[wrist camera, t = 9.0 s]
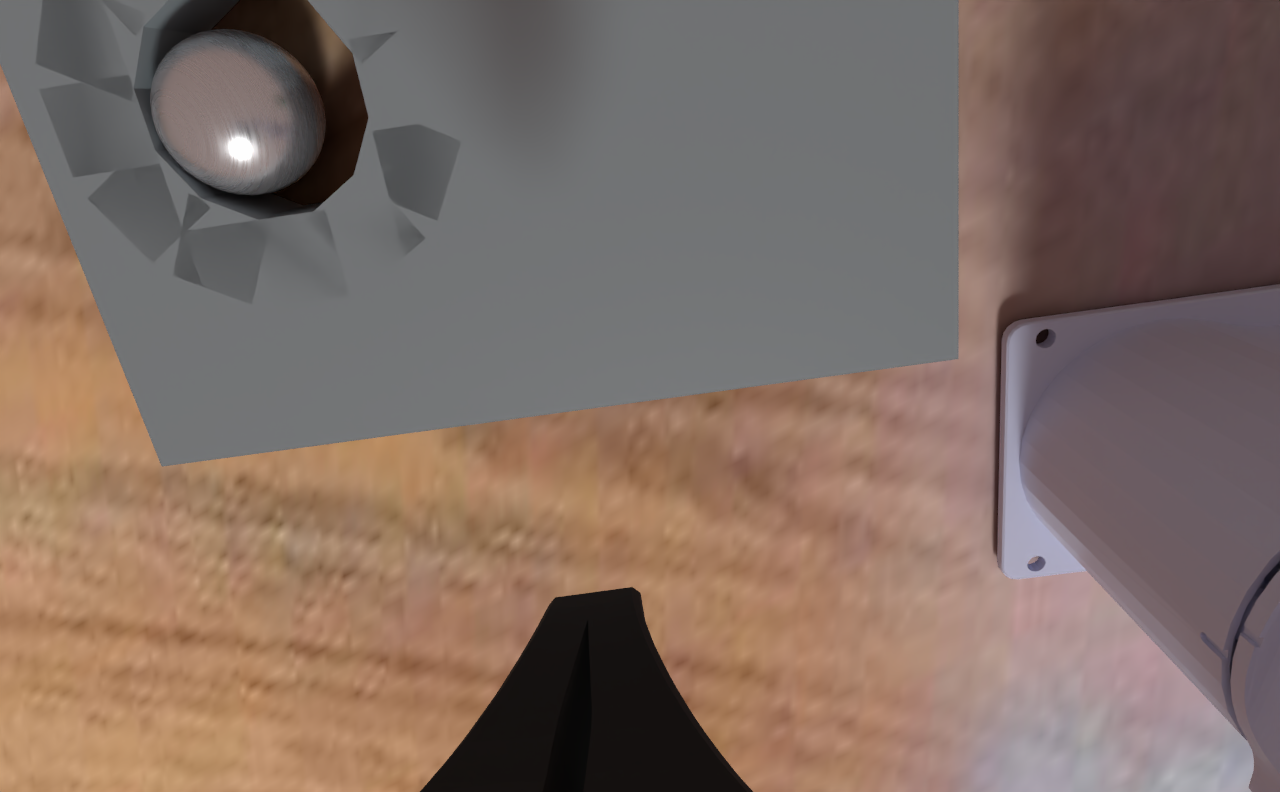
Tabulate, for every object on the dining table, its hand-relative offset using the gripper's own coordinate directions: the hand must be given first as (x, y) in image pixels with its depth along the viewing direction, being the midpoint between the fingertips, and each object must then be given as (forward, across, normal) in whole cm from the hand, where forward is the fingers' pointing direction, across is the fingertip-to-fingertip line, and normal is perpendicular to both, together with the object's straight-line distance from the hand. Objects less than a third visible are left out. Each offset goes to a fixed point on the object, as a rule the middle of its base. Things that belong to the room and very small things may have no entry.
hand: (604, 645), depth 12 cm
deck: (+10, +1, -9) cm, 14 cm away
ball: (+9, +7, -9) cm, 14 cm away
